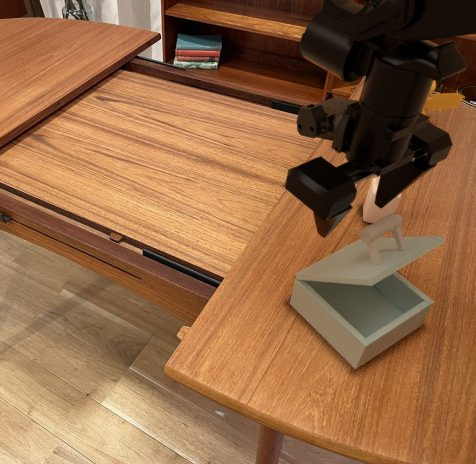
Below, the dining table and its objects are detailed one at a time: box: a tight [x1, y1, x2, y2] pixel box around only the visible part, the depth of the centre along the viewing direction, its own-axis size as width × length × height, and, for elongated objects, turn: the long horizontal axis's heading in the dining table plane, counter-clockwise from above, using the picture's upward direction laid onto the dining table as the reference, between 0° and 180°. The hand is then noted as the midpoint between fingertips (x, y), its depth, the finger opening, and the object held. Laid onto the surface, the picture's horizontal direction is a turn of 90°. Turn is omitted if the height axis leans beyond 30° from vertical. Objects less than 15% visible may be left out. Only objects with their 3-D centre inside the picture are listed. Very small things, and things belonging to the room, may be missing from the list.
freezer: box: [289, 271, 435, 370], centre depth 64 cm, size 12×12×5 cm
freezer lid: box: [294, 212, 446, 286], centre depth 59 cm, size 12×12×5 cm
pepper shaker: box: [362, 176, 402, 224], centre depth 75 cm, size 4×4×10 cm
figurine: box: [421, 81, 466, 116], centre depth 96 cm, size 12×12×9 cm
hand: (350, 220), depth 59 cm, fingers open, 9 cm apart
